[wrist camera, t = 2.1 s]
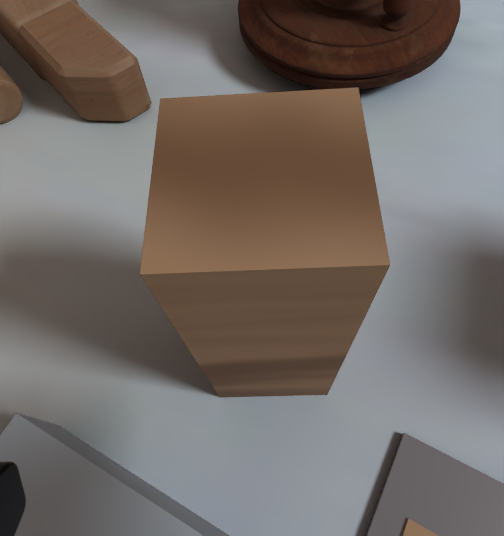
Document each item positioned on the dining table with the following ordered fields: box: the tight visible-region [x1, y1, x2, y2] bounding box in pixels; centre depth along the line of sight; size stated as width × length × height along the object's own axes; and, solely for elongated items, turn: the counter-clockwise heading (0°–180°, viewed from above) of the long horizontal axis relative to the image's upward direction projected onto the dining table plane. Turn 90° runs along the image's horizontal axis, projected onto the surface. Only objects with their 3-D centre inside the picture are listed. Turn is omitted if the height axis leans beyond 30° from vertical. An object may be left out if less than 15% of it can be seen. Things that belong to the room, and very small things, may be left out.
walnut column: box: [140, 87, 390, 397], centre depth 16 cm, size 5×5×13 cm
